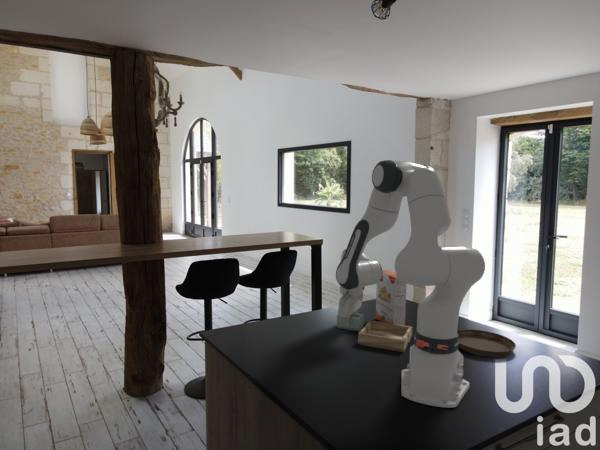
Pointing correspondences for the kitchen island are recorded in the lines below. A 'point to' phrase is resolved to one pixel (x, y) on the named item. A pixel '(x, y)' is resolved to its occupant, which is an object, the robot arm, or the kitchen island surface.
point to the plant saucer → (485, 343)
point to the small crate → (351, 322)
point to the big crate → (385, 336)
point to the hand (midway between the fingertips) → (350, 323)
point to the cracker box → (391, 299)
